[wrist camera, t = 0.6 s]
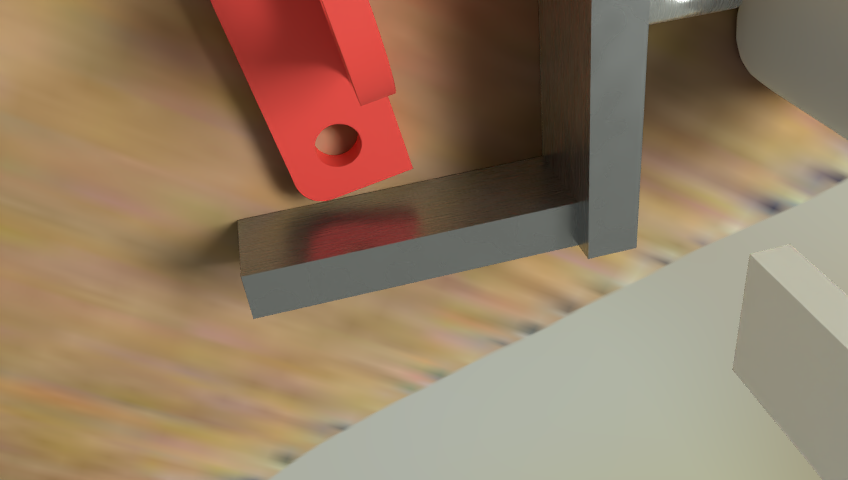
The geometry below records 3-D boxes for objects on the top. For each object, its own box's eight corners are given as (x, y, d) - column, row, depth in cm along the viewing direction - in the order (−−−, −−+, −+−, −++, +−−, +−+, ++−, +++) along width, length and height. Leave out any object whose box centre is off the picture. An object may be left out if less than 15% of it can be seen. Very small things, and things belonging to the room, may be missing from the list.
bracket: (166, -105, 25) (153, -46, 19) (298, -154, 26) (330, -112, 19) (303, 195, 32) (328, 313, 26) (406, 155, 32) (457, 263, 26)
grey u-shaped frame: (248, 260, 33) (254, 335, 29) (110, -222, 23) (90, -211, 19) (680, 166, 36) (741, 223, 32) (721, -306, 26) (818, -312, 22)
